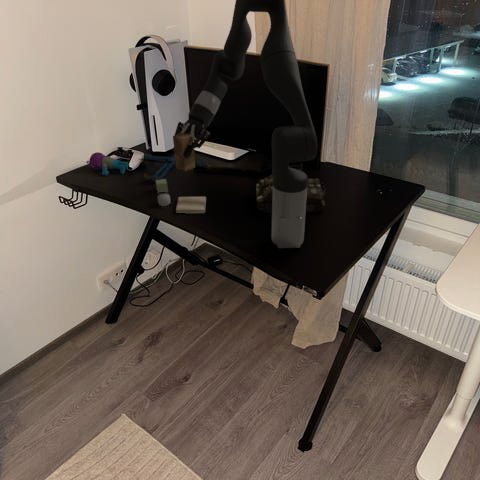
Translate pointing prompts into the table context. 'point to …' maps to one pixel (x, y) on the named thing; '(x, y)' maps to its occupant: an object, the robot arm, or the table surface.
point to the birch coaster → (191, 205)
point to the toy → (106, 163)
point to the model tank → (313, 194)
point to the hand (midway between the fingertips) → (180, 154)
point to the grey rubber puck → (164, 199)
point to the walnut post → (179, 147)
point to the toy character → (169, 164)
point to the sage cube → (161, 185)
